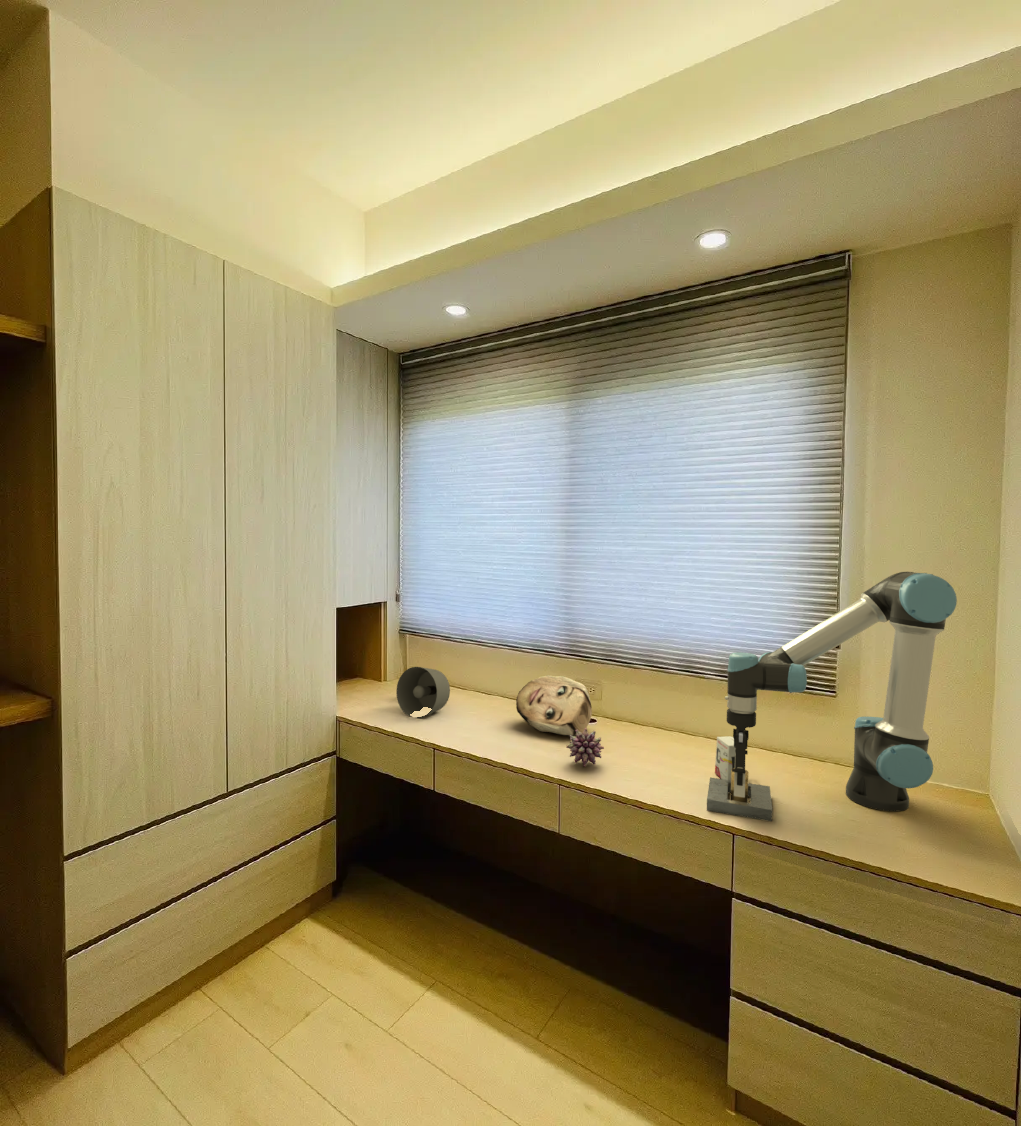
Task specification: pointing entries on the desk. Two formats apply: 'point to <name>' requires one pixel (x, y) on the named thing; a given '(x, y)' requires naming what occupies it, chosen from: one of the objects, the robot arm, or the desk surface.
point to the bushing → (742, 799)
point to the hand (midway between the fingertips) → (739, 786)
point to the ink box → (725, 757)
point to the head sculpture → (555, 705)
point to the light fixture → (422, 690)
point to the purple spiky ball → (585, 747)
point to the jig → (755, 809)
